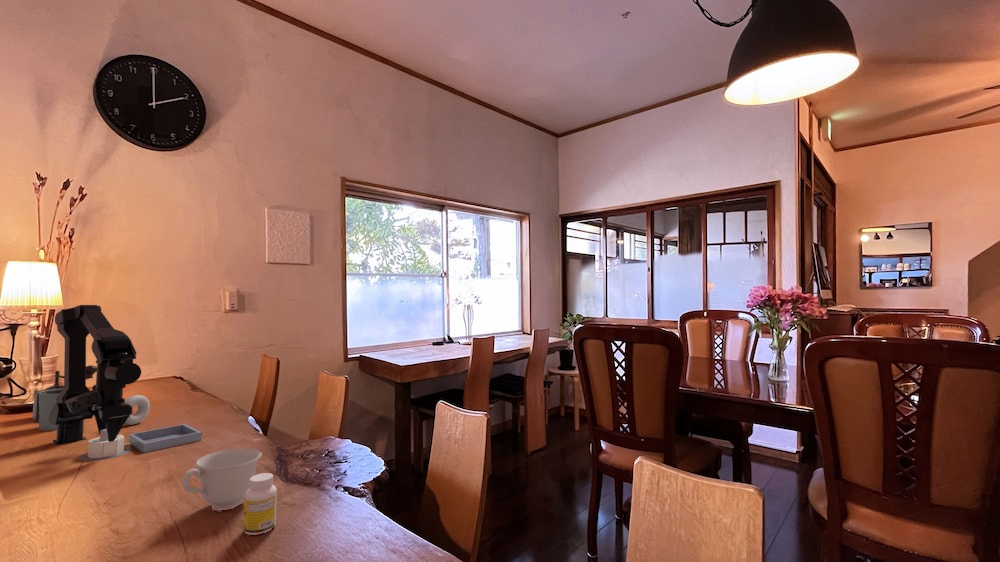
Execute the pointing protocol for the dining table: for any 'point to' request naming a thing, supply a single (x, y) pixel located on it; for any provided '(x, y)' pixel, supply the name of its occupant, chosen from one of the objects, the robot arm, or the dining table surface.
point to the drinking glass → (47, 408)
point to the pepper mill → (89, 374)
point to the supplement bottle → (260, 504)
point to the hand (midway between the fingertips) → (106, 437)
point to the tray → (164, 437)
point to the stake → (85, 457)
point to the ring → (107, 447)
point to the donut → (142, 409)
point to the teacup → (224, 476)
